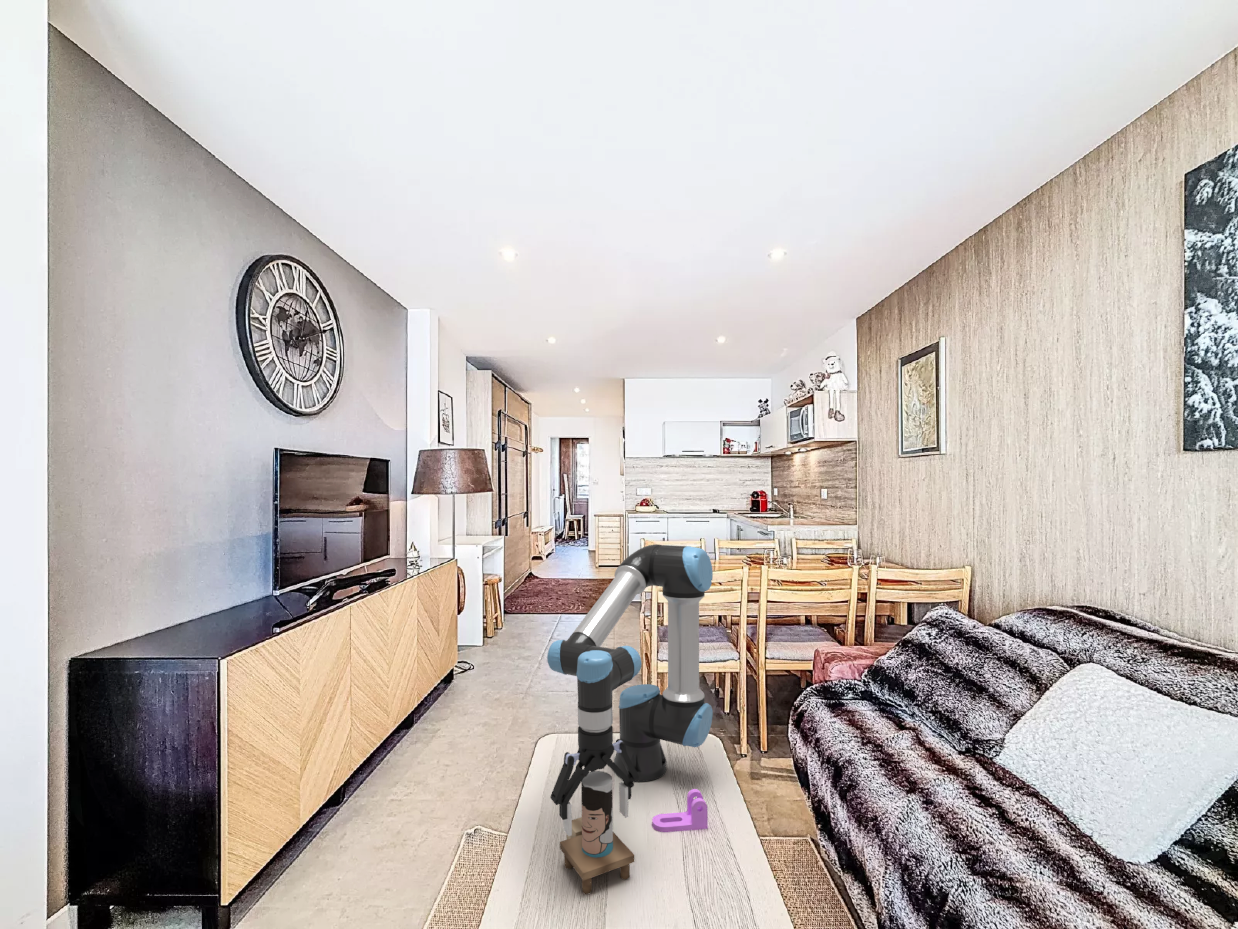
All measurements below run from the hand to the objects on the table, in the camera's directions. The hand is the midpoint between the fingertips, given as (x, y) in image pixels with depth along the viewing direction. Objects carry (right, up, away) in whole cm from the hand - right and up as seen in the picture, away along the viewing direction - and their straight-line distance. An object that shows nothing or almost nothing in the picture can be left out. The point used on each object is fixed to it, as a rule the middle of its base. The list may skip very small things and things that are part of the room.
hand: (596, 823), depth 135 cm
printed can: (0, -6, 0) cm, 6 cm away
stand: (0, -10, 0) cm, 10 cm away
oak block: (-4, -10, +9) cm, 14 cm away
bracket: (+19, -10, +17) cm, 28 cm away
